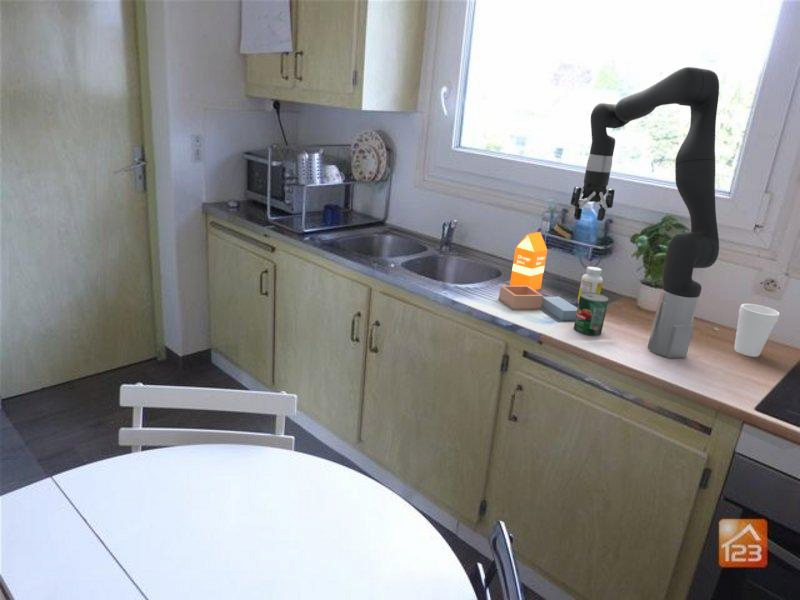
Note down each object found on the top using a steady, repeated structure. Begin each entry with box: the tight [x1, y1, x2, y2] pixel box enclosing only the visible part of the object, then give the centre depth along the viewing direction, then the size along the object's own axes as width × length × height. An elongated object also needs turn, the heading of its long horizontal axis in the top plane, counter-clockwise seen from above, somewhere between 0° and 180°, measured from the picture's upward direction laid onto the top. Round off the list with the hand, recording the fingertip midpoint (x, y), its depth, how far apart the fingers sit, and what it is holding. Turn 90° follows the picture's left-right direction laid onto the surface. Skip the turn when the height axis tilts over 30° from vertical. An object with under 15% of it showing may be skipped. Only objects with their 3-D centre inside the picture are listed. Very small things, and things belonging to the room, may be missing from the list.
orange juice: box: [509, 231, 548, 291], centre depth 200 cm, size 8×9×20 cm
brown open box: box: [498, 285, 544, 311], centre depth 182 cm, size 10×10×5 cm
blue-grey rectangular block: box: [541, 296, 578, 320], centre depth 178 cm, size 13×6×3 cm, turn 17°
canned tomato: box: [573, 292, 610, 337], centre depth 164 cm, size 8×8×11 cm
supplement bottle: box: [577, 266, 604, 304], centre depth 188 cm, size 7×7×13 cm
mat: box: [539, 306, 575, 323], centre depth 179 cm, size 16×11×1 cm
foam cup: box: [733, 303, 780, 358], centre depth 159 cm, size 10×9×13 cm
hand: (588, 220), depth 186 cm, fingers open, 8 cm apart
